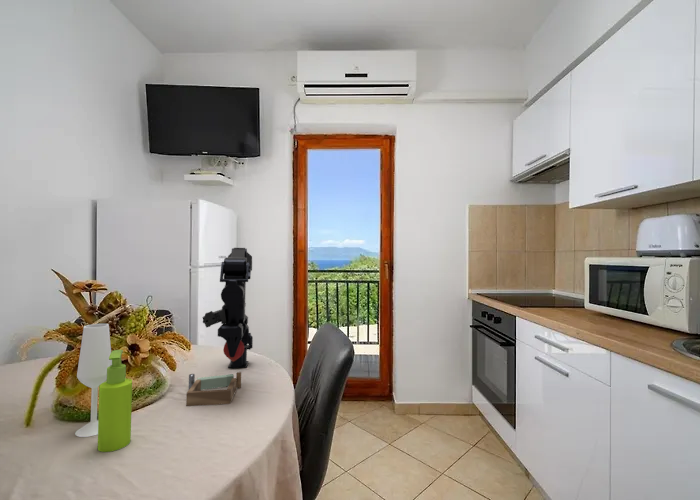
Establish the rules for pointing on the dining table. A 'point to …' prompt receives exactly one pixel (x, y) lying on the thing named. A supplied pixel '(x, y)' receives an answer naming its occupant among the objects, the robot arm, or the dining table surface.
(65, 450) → the dining table surface
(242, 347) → the pomegranate
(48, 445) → the dining table surface
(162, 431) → the dining table surface
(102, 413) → the soap dispenser
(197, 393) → the brown u-shaped frame
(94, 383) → the champagne flute
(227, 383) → the leg bar
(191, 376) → the pin
